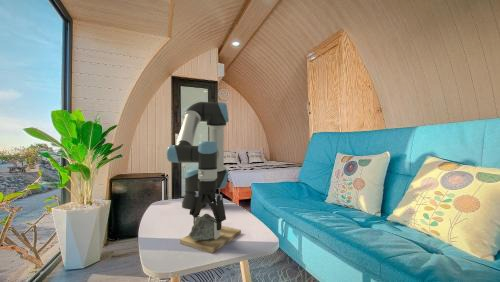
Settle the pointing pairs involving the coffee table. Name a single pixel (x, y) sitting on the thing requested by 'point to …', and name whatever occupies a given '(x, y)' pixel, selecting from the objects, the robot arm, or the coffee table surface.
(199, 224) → the stone
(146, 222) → the coffee table surface
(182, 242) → the board
